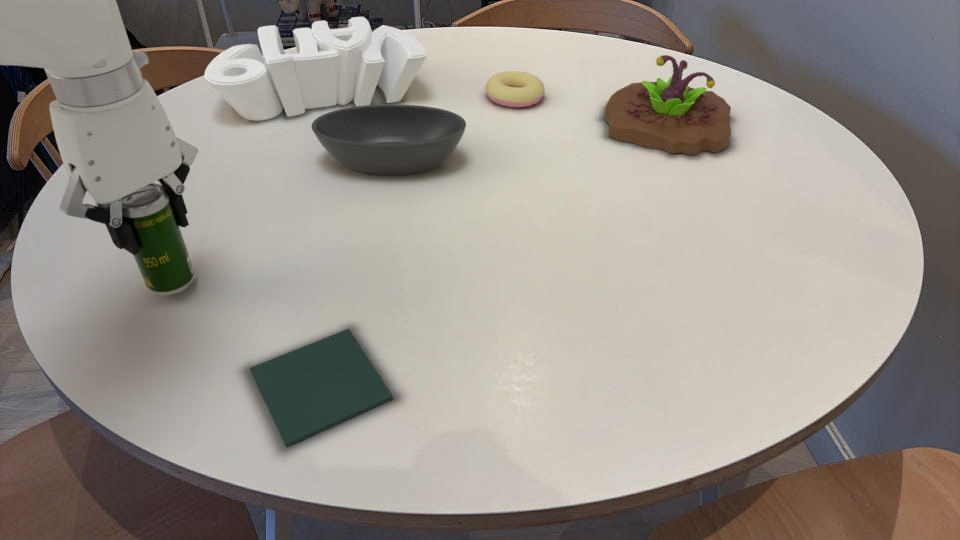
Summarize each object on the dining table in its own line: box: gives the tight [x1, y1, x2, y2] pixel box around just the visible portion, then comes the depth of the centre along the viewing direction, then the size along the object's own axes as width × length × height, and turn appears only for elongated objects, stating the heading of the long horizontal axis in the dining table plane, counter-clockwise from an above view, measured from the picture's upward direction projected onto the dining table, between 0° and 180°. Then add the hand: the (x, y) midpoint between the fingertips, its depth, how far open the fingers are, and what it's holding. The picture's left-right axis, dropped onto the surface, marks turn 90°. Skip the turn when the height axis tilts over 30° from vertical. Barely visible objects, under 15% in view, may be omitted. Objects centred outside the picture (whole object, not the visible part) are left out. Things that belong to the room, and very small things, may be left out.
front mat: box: [249, 328, 394, 448], centre depth 71 cm, size 11×11×1 cm
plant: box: [603, 54, 732, 156], centre depth 109 cm, size 20×20×11 cm
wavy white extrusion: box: [203, 16, 428, 122], centre depth 116 cm, size 35×16×11 cm, turn 103°
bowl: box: [311, 103, 467, 176], centre depth 102 cm, size 12×22×6 cm, turn 89°
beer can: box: [122, 182, 195, 296], centre depth 77 cm, size 5×5×12 cm
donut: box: [485, 70, 546, 108], centre depth 118 cm, size 10×5×9 cm
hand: (154, 234), depth 77 cm, fingers closed on beer can, 5 cm apart
